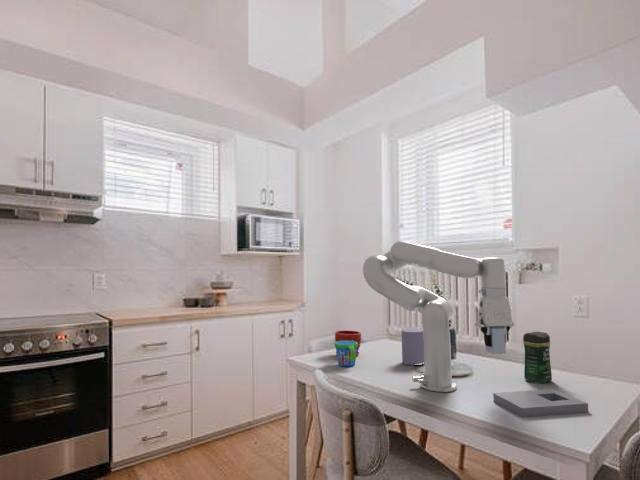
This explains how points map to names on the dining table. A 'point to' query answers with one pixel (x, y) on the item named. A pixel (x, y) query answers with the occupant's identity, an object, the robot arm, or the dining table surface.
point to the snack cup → (346, 352)
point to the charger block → (497, 340)
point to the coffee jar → (537, 357)
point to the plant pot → (348, 337)
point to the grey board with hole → (540, 402)
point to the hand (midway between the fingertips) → (495, 345)
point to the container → (412, 346)
